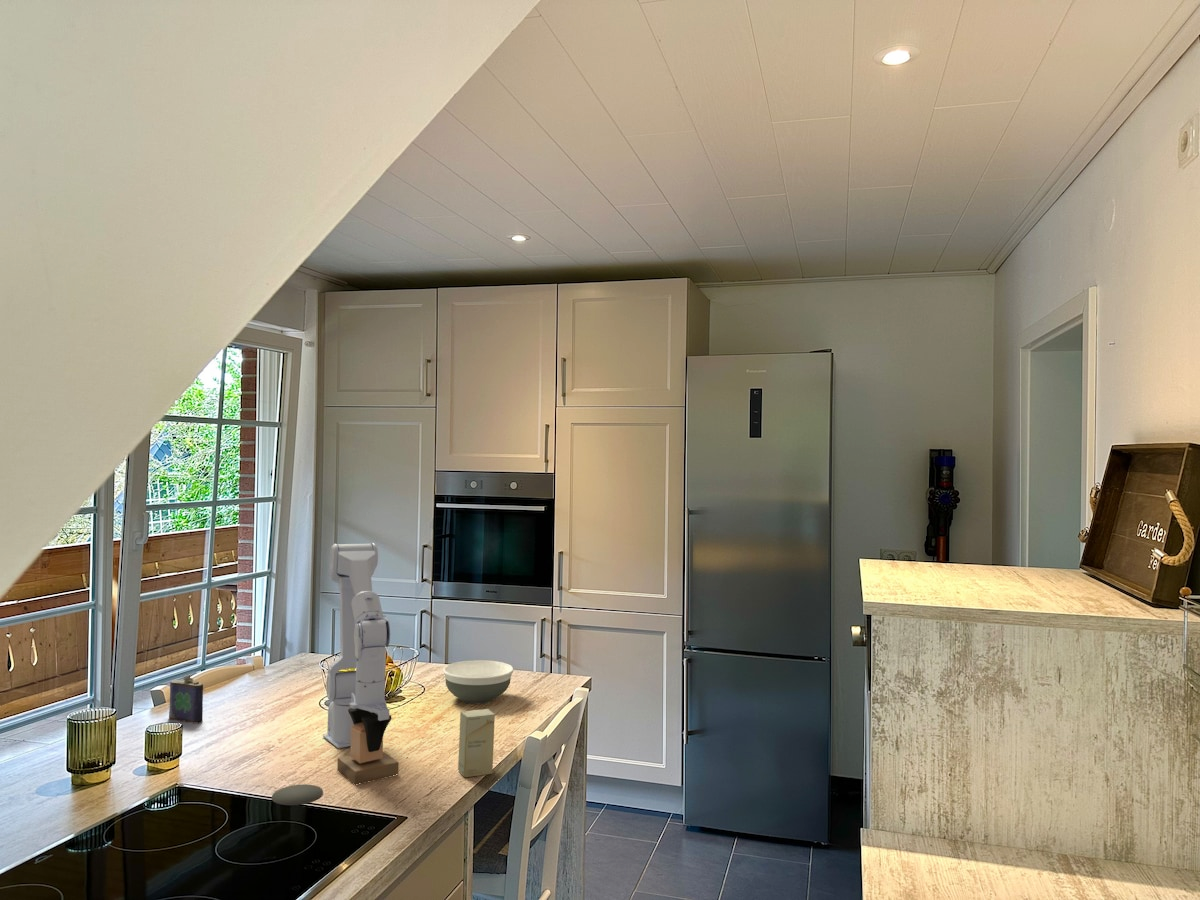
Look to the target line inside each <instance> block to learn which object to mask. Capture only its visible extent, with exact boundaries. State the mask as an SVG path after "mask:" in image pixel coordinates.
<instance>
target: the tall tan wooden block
mask: <svg viewBox="0 0 1200 900" xmlns="http://www.w3.org/2000/svg"><path fill="white" fill-rule="evenodd" d="M383 752H384V737H383V738H382V742H381V746H380V749H379V750H378V751H373V752H369V751H368V747H367V737H366V731H365V727H364V724H363V722H362V723H357V724H353V726H351V746H350V756H351V757H352V758H353V759H355V760H356V761H357V762H358V763H364V762H368V761H372V760H377V759H381V758H383Z"/></svg>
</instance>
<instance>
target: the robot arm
mask: <svg viewBox="0 0 1200 900" xmlns="http://www.w3.org/2000/svg"><path fill="white" fill-rule="evenodd" d="M329 551H330V552H329V576H330V581H332V582H334V583H336V584H337V585H338V589H339V629H340V630H339V631H340V632H339V635H340V638H339V639H340V641H339V642H340V647H339V648H340V656H338V658H337V659H335V660H334V661H333V662H331V663H330V664H329V667H328V668H327V677H326V684H325V685H326V688H325V689H326V697H327V700H329V701H330V703H329V706H328V708H327V731H326V733H324V734H323V735H322V737H323V738H324V739H325V740H327V741H328V742H330V743H331V744H332V745H334V747H336V748H337V749H341V748H342V749H343V748H347V747H351V726H353V724H357V723H362V722H363V724H364V727H365V731H366V737H367V747H368V751H369V752H373V751H378V750H379V749H380V746H381V742H382V738H383V739H384V735H385V732H386V729H387V727H388V725H389V724H390V722H391V721H392V715H391V714H390V709H389V708H388V704H387V701H386V699H385V698H386V697H385V693H386V690H385V689H386V668H387V667H386V665H387V664H386V658H387V648H388V647H389V646H390V642H391V627H390V621H389V619H388V617H386V614H385V615H384V614H383V609H382V605H381V600H380V596H379V595H378V594H377V593H376V592H375V591H373V582H372V577H373V575H374V573H375V571H376V569H377V567H378V563H379V562H378V560H379V551H378V547H377V545H376V544H375V543H374V542H370V543H345V544H343V543H341V544H339V543H338V544H337V543H333V545H331V547H330V550H329ZM352 669H355V670H352ZM342 670H348V671H342Z"/></svg>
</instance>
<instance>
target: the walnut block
mask: <svg viewBox="0 0 1200 900" xmlns="http://www.w3.org/2000/svg"><path fill="white" fill-rule="evenodd" d="M336 768H337V772H338V771H339V772H340V773H339V772H338V773H339V774H341V775H342V776H343V775H344V776H345V777H344V776H343V777H344V778H345V779H347V780H348V779H349V780H350V781H351V782H350V781H349V780H348V781H349V782H350V783H352V784H353V783H354V784H355V785H354V784H353V785H354V786H357V785H356V784H358V785H360V784H359V783H362V784H365V783H364V782H366V783H369V782H368V781H371V782H373V780H375V781H379V780H383V779H386V778H385V777H388V778H390V777H389V776H392V777H394V776H393V775H396V774H398V775H399V761H398V760H396V759H395V758H394V757H392V756H390V755H389V754H387V753H386V752H385V751H383V758H381V759H377V760H372V761H368V762H364V763H358V762H357V761H356V760H355V759H353V758H352V757H351V756H350V755H345V756H342V757H337V767H336ZM396 776H397V775H396ZM382 778H383V779H382ZM378 779H379V780H378Z"/></svg>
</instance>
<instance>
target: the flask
mask: <svg viewBox="0 0 1200 900" xmlns="http://www.w3.org/2000/svg"><path fill="white" fill-rule="evenodd" d="M192 676H193V674H187V675H183V676H182V677H183V680H181V679H180V680H179V679H176V680H175V679H173V680H172V681H170V682H169V683H170V684H169V687H170V688H169V690H170V691H169V707H168V708H169V712H168V718H169V720H171V721H178V722H181V723H182V722H185V723H190V724H202V722H203V714H204V710H203V708H204V706H203V705H204V703H203V700H204V699H203V698H204V697H203V696H204V684H203V683H201V682H199V681H198V680H195V681H194V678H192Z"/></svg>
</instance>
